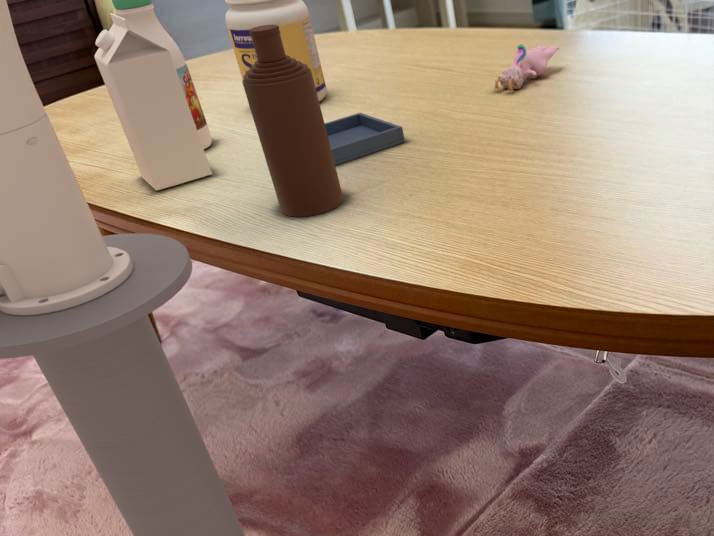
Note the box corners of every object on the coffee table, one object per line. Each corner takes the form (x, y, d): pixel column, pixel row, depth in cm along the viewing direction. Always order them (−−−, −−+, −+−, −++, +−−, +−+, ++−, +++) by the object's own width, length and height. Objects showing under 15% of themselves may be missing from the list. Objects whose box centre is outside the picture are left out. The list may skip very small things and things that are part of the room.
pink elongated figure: (522, 103, 120) (573, 59, 128) (514, 63, 115) (566, 20, 124) (489, 99, 123) (540, 57, 131) (479, 60, 118) (533, 19, 127)
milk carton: (196, 163, 107) (141, 7, 96) (213, 175, 102) (156, 13, 91) (142, 178, 104) (78, 19, 93) (157, 192, 99) (91, 26, 88)
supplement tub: (242, 118, 123) (204, -4, 113) (262, 95, 133) (229, -18, 123) (320, 110, 122) (289, -13, 112) (335, 88, 132) (308, -27, 122)
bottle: (300, 222, 87) (247, 38, 76) (270, 207, 91) (215, 32, 80) (355, 200, 90) (311, 22, 79) (323, 187, 95) (278, 17, 84)
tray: (315, 172, 100) (310, 156, 98) (277, 154, 107) (272, 139, 106) (405, 141, 106) (402, 126, 105) (363, 126, 113) (360, 112, 112)
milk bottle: (169, 162, 108) (108, -1, 97) (148, 152, 113) (87, -5, 102) (222, 145, 112) (170, -13, 101) (200, 136, 117) (147, -16, 105)
